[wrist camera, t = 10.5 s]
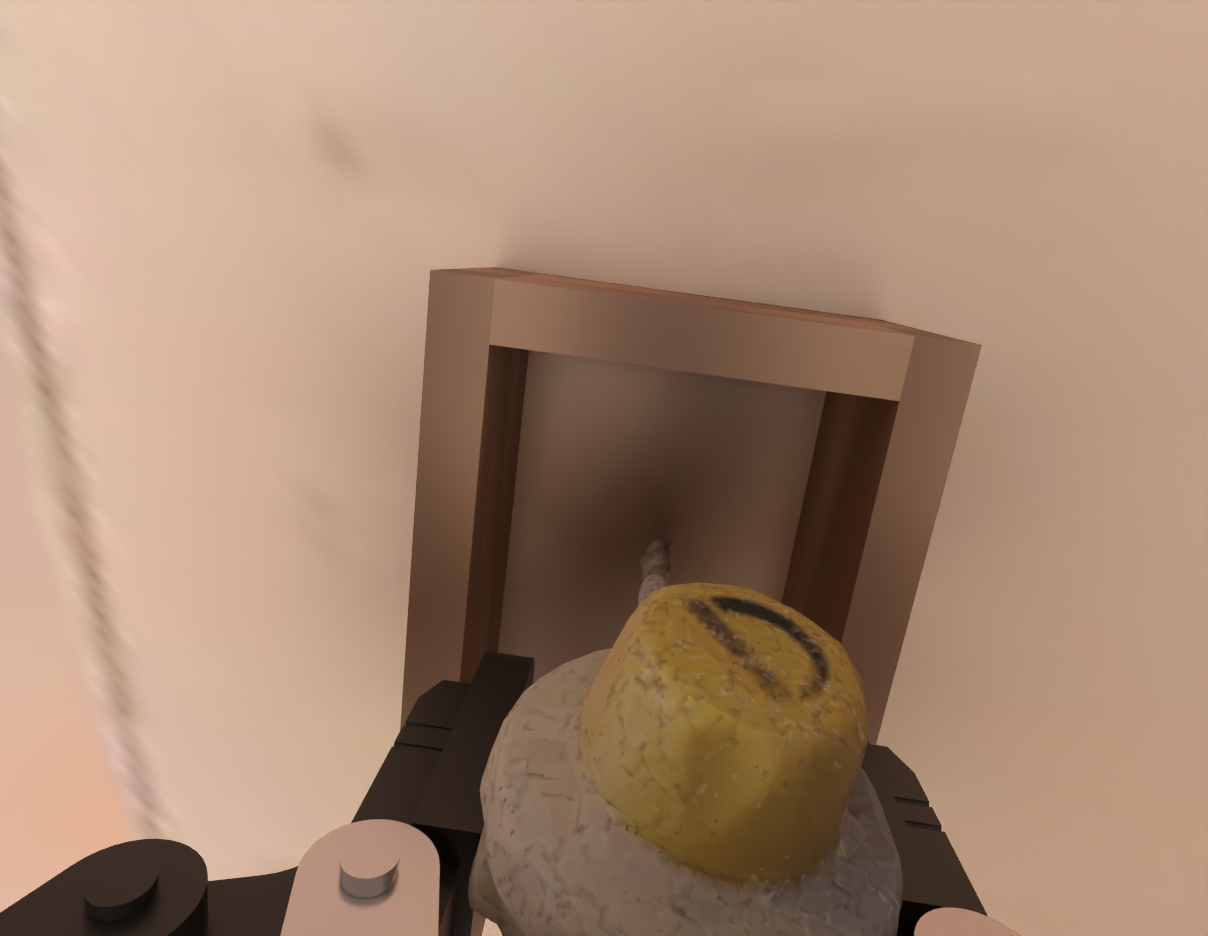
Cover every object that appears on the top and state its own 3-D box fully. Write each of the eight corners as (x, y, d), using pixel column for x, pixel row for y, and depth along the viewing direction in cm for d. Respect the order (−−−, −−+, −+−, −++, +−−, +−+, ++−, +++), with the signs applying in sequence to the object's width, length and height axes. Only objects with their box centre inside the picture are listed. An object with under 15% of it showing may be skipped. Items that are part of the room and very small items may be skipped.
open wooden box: (882, 319, 16) (981, 345, 11) (775, 789, 19) (817, 965, 15) (494, 267, 16) (430, 269, 11) (453, 741, 20) (389, 898, 15)
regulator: (607, 384, 16) (126, 1538, 2) (787, 429, 16) (2041, 2036, 2) (532, 686, 18) (24, 2412, 4) (693, 727, 18) (838, 2624, 4)
